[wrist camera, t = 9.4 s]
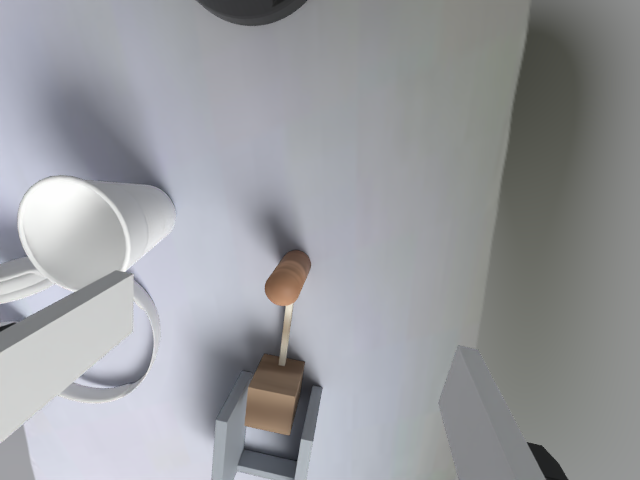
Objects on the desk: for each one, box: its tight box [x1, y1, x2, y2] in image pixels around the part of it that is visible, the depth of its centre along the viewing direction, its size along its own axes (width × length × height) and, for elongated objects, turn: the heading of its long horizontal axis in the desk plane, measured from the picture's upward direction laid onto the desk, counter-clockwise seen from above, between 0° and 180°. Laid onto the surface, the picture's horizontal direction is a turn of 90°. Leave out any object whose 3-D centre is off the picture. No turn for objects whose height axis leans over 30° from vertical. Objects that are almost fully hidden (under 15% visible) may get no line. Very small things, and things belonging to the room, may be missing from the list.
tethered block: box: [244, 250, 311, 436], centre depth 37 cm, size 19×5×7 cm, turn 172°
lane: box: [211, 371, 322, 480], centre depth 40 cm, size 13×10×8 cm
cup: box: [17, 175, 176, 292], centre depth 34 cm, size 10×10×11 cm
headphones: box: [0, 256, 161, 404], centre depth 42 cm, size 7×18×20 cm
